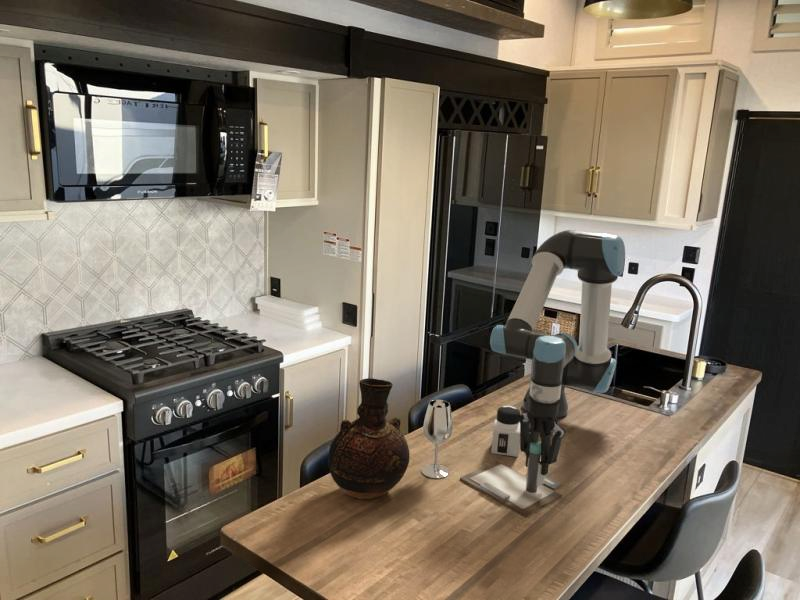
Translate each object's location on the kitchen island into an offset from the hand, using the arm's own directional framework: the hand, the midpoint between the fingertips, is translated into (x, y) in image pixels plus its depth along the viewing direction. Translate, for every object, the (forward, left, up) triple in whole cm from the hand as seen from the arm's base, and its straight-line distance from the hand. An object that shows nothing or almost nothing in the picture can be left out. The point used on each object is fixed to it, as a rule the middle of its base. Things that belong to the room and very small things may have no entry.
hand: (535, 481), depth 168 cm
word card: (-7, -2, -3) cm, 7 cm away
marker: (+1, 0, -2) cm, 2 cm away
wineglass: (+14, -23, -3) cm, 27 cm away
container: (-12, -20, -3) cm, 23 cm away
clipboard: (+4, -5, -3) cm, 7 cm away
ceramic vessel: (+35, -26, -3) cm, 44 cm away
